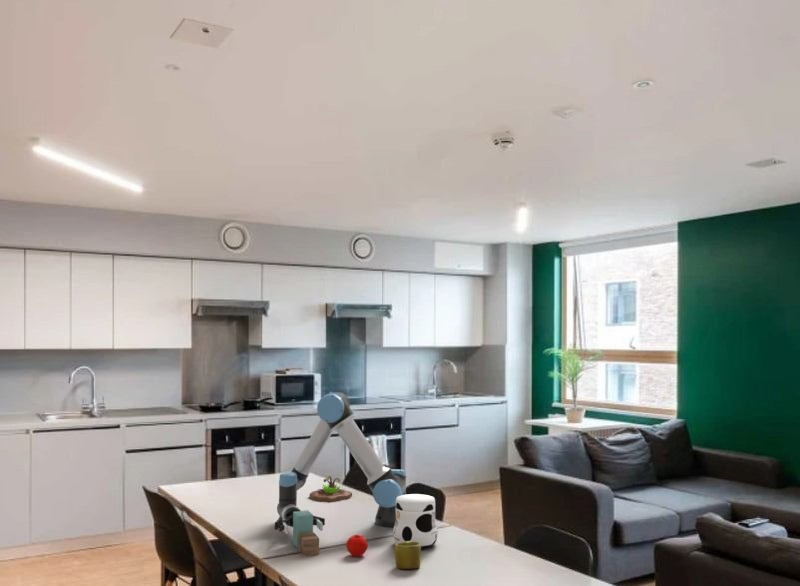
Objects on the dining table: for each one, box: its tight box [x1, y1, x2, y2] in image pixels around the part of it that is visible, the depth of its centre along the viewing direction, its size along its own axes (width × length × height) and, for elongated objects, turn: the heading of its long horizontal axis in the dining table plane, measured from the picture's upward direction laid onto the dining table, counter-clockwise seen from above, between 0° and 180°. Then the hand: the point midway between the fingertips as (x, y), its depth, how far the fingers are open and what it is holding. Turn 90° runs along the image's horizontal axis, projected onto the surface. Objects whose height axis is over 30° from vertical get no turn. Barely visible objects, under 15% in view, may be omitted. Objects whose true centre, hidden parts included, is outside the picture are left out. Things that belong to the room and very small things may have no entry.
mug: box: [393, 541, 422, 570], centre depth 250 cm, size 12×10×10 cm
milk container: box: [392, 493, 439, 549], centre depth 276 cm, size 17×17×18 cm
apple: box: [345, 534, 368, 558], centre depth 261 cm, size 8×8×7 cm
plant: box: [308, 475, 353, 503], centre depth 357 cm, size 20×20×11 cm
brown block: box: [297, 531, 320, 557], centre depth 265 cm, size 9×6×6 cm
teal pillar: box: [292, 510, 314, 549], centre depth 274 cm, size 8×6×12 cm
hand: (304, 528), depth 271 cm, fingers open, 13 cm apart
